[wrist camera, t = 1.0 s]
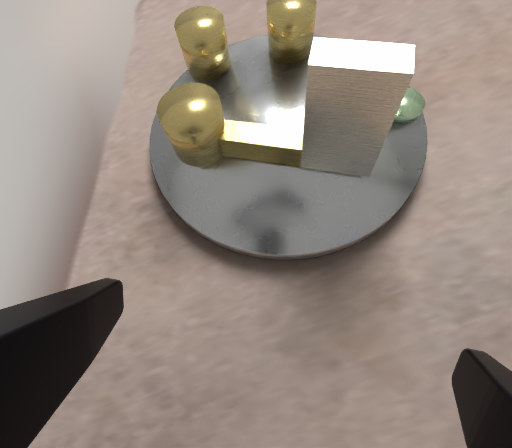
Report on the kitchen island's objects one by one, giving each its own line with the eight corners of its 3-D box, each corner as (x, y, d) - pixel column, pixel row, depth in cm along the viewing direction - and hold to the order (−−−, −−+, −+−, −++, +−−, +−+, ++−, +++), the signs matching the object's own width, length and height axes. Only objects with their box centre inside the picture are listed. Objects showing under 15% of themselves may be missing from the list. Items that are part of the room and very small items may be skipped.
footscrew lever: (167, 162, 26) (112, 64, 18) (184, 118, 28) (141, 10, 19) (368, 191, 23) (412, 92, 15) (373, 141, 25) (415, 28, 17)
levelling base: (418, 287, 22) (455, 262, 17) (115, 231, 25) (76, 198, 21) (423, 54, 31) (449, -5, 26) (196, 36, 34) (182, -18, 29)
